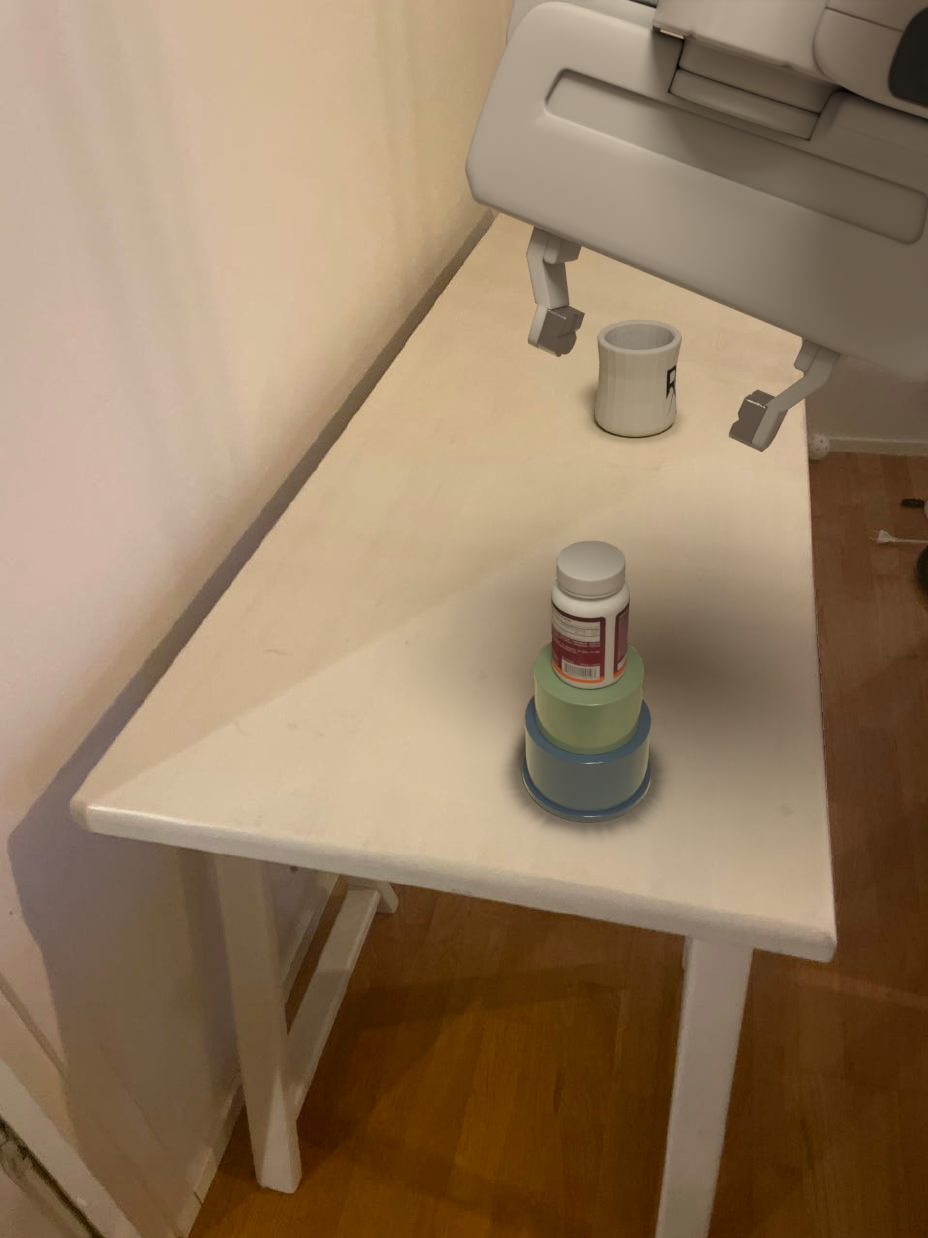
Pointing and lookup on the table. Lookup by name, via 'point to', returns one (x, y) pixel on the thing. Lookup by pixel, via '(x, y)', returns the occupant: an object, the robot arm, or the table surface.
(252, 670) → the table surface
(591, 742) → the cup stack
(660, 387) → the mug
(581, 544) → the pill bottle
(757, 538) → the table surface
